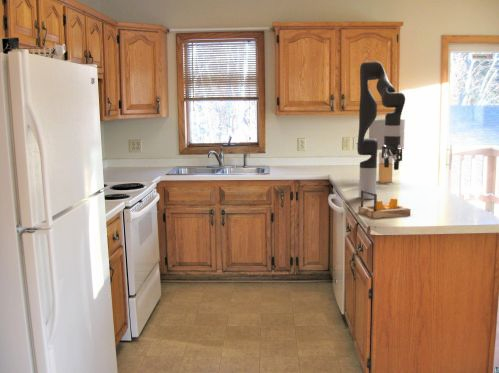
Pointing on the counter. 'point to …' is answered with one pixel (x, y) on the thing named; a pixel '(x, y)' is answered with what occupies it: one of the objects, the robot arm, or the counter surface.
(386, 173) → the lamp
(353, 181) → the counter surface
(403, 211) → the wooden tray
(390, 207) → the pipe clamp
